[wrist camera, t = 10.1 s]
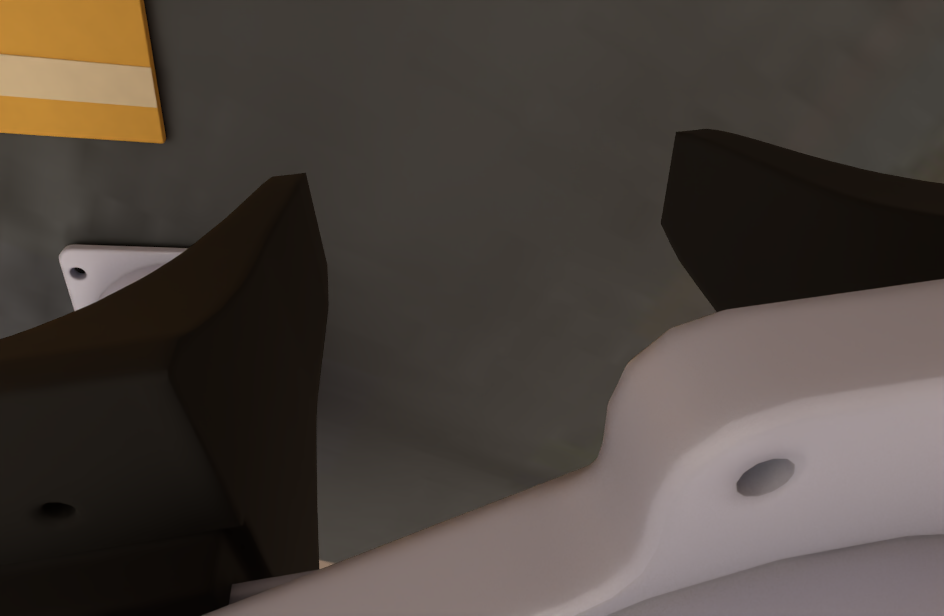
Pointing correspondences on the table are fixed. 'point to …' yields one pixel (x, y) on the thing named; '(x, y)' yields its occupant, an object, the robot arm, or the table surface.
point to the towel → (78, 70)
